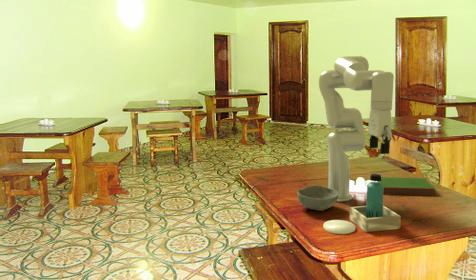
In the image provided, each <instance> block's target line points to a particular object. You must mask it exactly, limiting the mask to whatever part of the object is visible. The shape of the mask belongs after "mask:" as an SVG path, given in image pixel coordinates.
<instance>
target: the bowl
mask: <svg viewBox="0 0 476 280" xmlns="http://www.w3.org/2000/svg"><path fill="white" fill-rule="evenodd" d="M296 196H297V200H298V202H299V203H300V204H301V206H302V207H304V208H306V209H308V210H309V209H310V210H314V211H319V212H323V211H326V210H329V208H332V207H333V206H334V205H335V204H336V202H338V201H337V198H338V191H336V190H333V189H330V188H328V186H322V185H315V184H314V185H310V186H306V187H302V188H299V189H298V190H297V193H296Z"/></svg>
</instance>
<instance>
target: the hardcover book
mask: <svg viewBox="0 0 476 280" xmlns="http://www.w3.org/2000/svg"><path fill="white" fill-rule="evenodd" d="M377 182H379V183H381V184H382V185H383V186H384V190H383V195H403V196H405V195H409V196H412V195H413V196H435V195H436V189H435V187H434V186H433V185H432V184H431V183H430V182H429V181H428V179H426V178H423V177H422V178H421V177H419V178H418V177H387V176H385V177H382V176H381V181H377Z"/></svg>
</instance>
